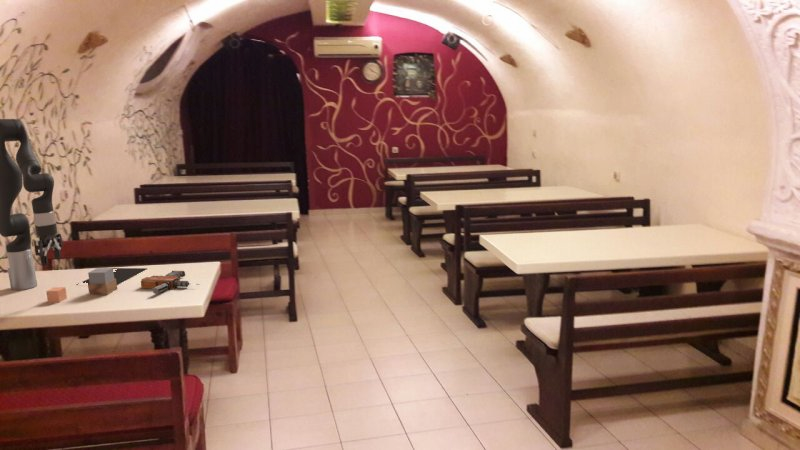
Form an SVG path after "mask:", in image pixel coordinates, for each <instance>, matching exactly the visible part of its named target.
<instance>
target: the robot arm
mask: <svg viewBox="0 0 800 450" xmlns="http://www.w3.org/2000/svg"><path fill="white" fill-rule="evenodd" d="M29 137H30V136H29V134H28V131H27V128H26V126H25V124H24V122H23V121H22V120H21V119H19V118H18V119H17V118H0V235H1V237H4V238H9V237H13V236H14V237H15V236H16V237H15V238H14V239H13V240H12V241H11V242H9V243H8V244H6V246H5V249H6V255H7V260H8V266H9V267H8V268H7V273H8V280H9V284H10V285H9V286H10V290H15V291H23V290H29V289H32V288H33V289H34V288H35V287H37V286H38V281H37V275H36V274H37V273H36V270H35V263H34V257H33V252H32V238H31V236H32V235H31V227H30V221H29V218H28V217H27V215H26V214H25V213H21V212H20V213H19V212H18V213H14V214H12V213H11V212H12V208H13V204H14V203H15V201H16V200H17V198H18V196H19V195H20V193H21V192H22V189H23V188H24V190H25V191H26V192H28V193H40V192H42V194H41V196H38V197H34V198H33V199H31V208H32V214H33V224H34V231H35V236H37V237H39V240H34V241H33V246H34V247H33V248H34V252H35V254H34V255H35V256H37V257H39V259H40V263H41V265H42V266H48V265H49V260H48V256H47V254H48V251H50V249H52V250H53V255H54V259H55V260H60V259H62V256H61V255H62V254H61V249H62V248H64V242H63V238H62V234H61V233H58V226H57V219H56V216H55V212H54V207H53V193H54V187H55V179H54V177H53V176H52V174H50V173H47V172H43V173H41V172H42V166H41V164H40V162H39V160H38V158H37V157H36V155H35V153H34V151H33V147H32V144H31V139H30V138H29ZM6 142H19V143H20V144H19V147H18V149H17V152H16V155H15V160H16V161H15V160H14V158H13V157H11V155H10V154H9V152H8V150H7V147H6Z"/></svg>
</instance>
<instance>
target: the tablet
mask: <svg viewBox="0 0 800 450" xmlns="http://www.w3.org/2000/svg"><path fill="white" fill-rule="evenodd" d="M112 268H113V269H117V270H115V271H116V272H114V279H116V282H117V286H119V285H121V284H122V282H123V283H124V281H125V282H126V281H128V280H131V279H132V278H134V277H136V276H138V275H139V273H140V274H141V272H142V273H144V272H145V270H146V271H147V270H148V268H146V267H143V268H141V267H131V268H129V267H126V268H125V267H124V268H123V267H122V268H121V267H120V268H119V267H112ZM143 271H144V272H143ZM137 274H138V275H137ZM82 282H83V283H85V282H86V283H88V284H90V282H89V278H87V279H85V280H83V281H82ZM78 284H79V283H77V284H76V285H78Z"/></svg>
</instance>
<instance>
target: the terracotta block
mask: <svg viewBox="0 0 800 450" xmlns="http://www.w3.org/2000/svg"><path fill="white" fill-rule="evenodd" d="M45 292H46V297H47V298H46V300H47V303H48V304H49V303H50V304H51V303H53V304H54V303H57V304H58V303H61V302H63V301H65V300H67V299H68V296H67V289H66V286H64V287H60V286H57V287H56V286H55V287H51V288H49V289H47V290H46V291H45Z"/></svg>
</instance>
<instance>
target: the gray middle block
mask: <svg viewBox="0 0 800 450" xmlns="http://www.w3.org/2000/svg"><path fill="white" fill-rule="evenodd" d="M113 268H114V267H97V268H95V269H93V270H91V271H89V272H88V273H87V275H88V279H89V282H90V284H107V283H108V282H110V281H112V280H113V279H114V272H113Z"/></svg>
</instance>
